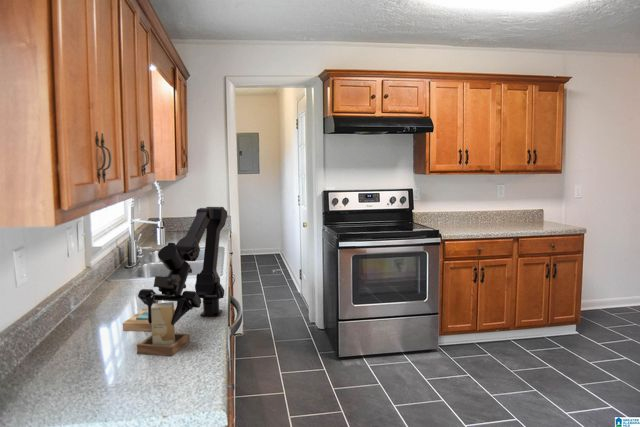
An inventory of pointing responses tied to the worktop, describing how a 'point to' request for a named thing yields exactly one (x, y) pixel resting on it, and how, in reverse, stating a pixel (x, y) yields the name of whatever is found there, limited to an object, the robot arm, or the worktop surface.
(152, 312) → the skincare box
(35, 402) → the worktop surface
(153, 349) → the tray
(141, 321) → the shallow wooden box
